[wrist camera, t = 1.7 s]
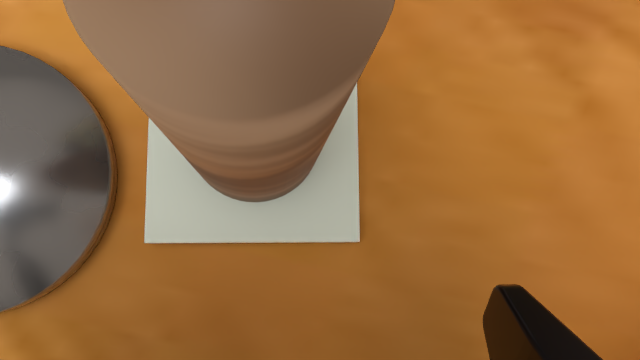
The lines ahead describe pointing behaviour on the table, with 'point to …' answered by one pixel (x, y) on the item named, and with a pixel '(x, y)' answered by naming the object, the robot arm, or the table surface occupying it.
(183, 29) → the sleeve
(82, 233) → the grey saucer
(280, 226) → the stand
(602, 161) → the table surface
